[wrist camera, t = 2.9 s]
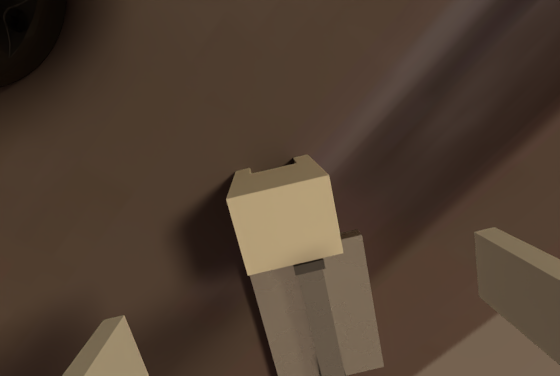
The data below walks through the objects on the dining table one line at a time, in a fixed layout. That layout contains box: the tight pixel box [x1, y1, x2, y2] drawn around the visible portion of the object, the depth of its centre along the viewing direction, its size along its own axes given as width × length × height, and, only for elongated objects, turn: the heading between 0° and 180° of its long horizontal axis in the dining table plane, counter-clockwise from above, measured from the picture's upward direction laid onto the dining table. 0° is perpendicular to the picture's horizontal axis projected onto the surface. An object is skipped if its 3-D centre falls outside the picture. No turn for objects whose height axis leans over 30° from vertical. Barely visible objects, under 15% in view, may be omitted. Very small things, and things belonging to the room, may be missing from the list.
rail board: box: [250, 229, 384, 376], centre depth 27 cm, size 10×14×3 cm
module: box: [226, 155, 343, 276], centre depth 22 cm, size 6×5×8 cm
